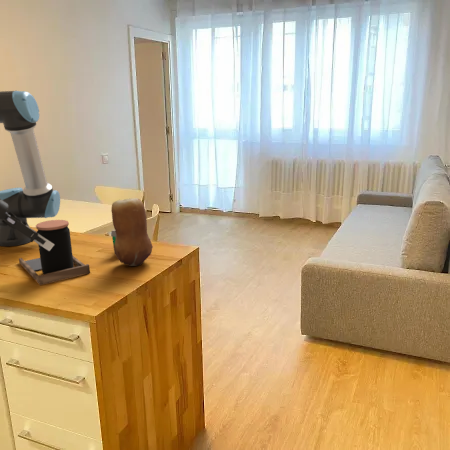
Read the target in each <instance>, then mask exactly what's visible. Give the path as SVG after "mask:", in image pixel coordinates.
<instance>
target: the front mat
mask: <svg viewBox="0 0 450 450" xmlns="http://www.w3.org/2000/svg"><path fill="white" fill-rule="evenodd" d="M24 261H25V262H26V263H27V264H28V265H29V266H30V267H31V268H32V269H33V270H34V271H35V272H39V271H42V267H41V260H40V257H38V258H33V259H29V260H24Z"/></svg>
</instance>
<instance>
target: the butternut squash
mask: <svg viewBox="0 0 450 450" xmlns="http://www.w3.org/2000/svg"><path fill="white" fill-rule="evenodd" d="M110 212H111V219H112V226H113V228H114V231H116V240H115V245H114V246H113V250H114V249H115V253H114V255H115V256H116V259H117V260H118V261H119V262H120V263H121V264H124V265H127V266H130V267H138V266H139V265H140V266H141V265H142V264H144V263H145V261H146V260H147V259H148V258H149V257H150V255H151V254H152V253H153V247H154V246H153V244H152V241H151V239H150V237H149V234H148V224H147V223H148V221H147V220H148V219H147V218H148V217H147V213H146V208H145V204H144V202H143V201H142V200H141V199H140V198H137V197H131V198H126V199H118V200H115V201H113V202H112V204H111V211H110Z"/></svg>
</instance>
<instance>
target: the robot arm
mask: <svg viewBox="0 0 450 450" xmlns="http://www.w3.org/2000/svg"><path fill="white" fill-rule="evenodd" d="M39 119H40V109H39V105H38V103H37V101H36V99H35V97H34V96H33V95H32V94H31V93H30V92H29V91H24V90H23V91H22V90H8V91H6V90H5V91H3V90H2V91H1V90H0V124H2V125H3V128H4V130H5V131H7V132H8V133H9V134H10V136H11V141H12V143H13V148H14V151H15V154H16V158H17V161H18V165H19V169H20V171H21V175H22V178H23V183H24V185H25V187H24V188H23V187H12V188H8V189H4V190H0V247H15V246H22V245H25V244H28V243H33V242H35V243H36V244H39V245H40V246H42V247H44V248H45V249H47V250H48V251H50V250H51V249H52V247H53V246H54V244H53V243H51V242H50V241H48V240H47V239H45V238H44V237H42V236H41V235H39V234H38V233H37V231H36V230H35V229H33V228H32V227H30V225H29V224H28V219H39V218H40V219H42V218H43V219H48V218H54V217H56V216H57V215H58V214H59V211H60V207H61V195H60V192H59V191H58V190H56V189H55V190H54V189H53V188H54V187H53V185H52V184H51V183H49V182H48V180H47V177H46V173H45V170H44V169H45V168H44V166H43V165H44V164H43V161H42V158H41V153H40V150H39V145H38V141H37V139H36V138H37V137H36V135H35V128H36V126H37V122H38V121H39Z"/></svg>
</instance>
